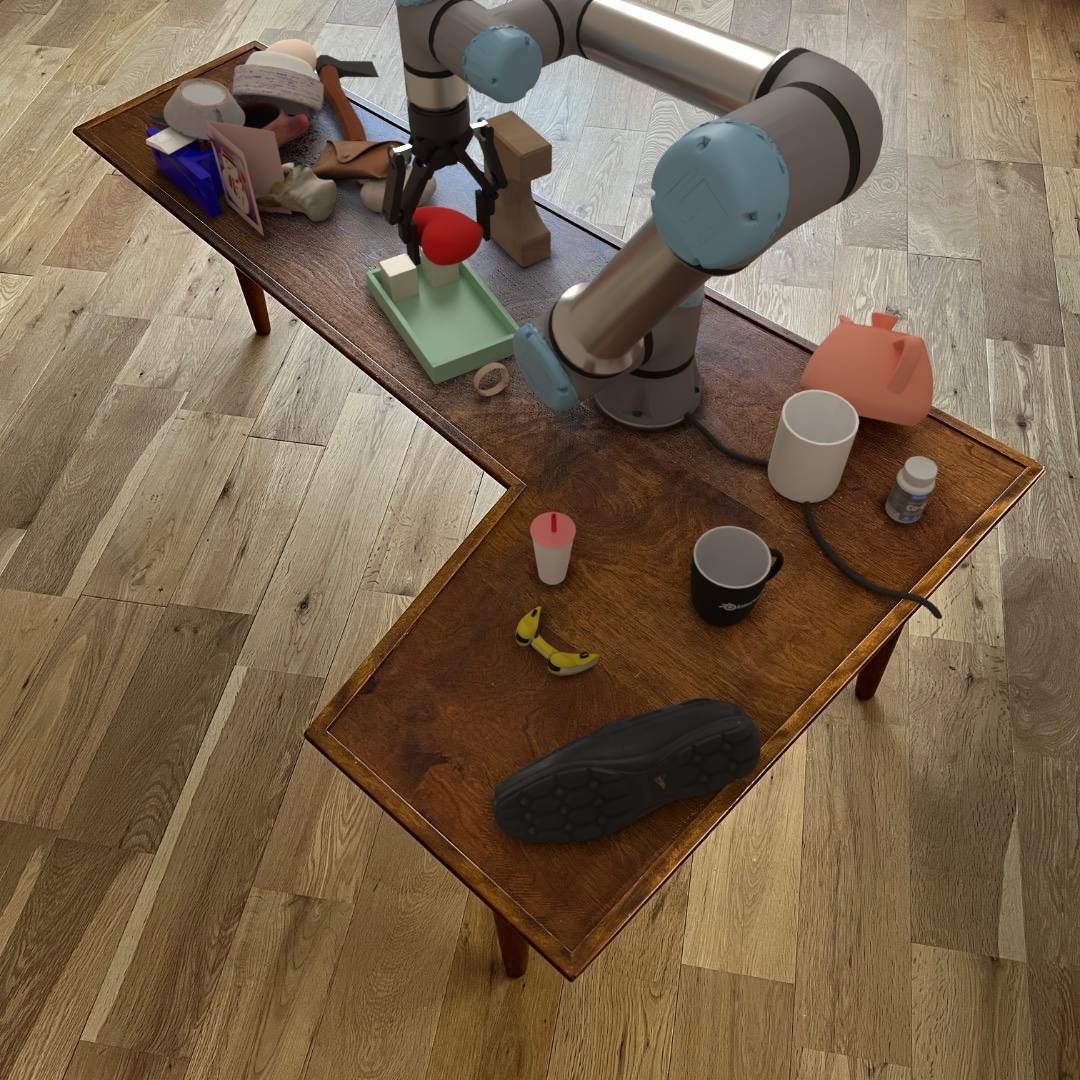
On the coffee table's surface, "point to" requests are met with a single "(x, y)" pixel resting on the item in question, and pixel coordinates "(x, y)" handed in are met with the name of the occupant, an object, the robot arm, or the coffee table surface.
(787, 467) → the mug
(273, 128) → the bowl
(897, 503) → the pill bottle
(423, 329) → the ornament tray
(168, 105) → the bowl
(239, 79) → the paper bowls
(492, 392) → the beige ring band
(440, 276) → the cream block
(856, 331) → the teapot
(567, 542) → the cup
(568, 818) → the loafer
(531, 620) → the yellow curved segmented toy
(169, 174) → the mounting bracket
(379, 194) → the decorative stone
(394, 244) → the coffee table surface
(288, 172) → the ceramic sculpture
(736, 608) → the mug
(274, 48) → the egg
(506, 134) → the decorative block
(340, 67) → the hand axe
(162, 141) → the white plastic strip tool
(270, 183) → the greeting card
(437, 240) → the heart
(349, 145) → the sunglasses case
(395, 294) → the beige short block
